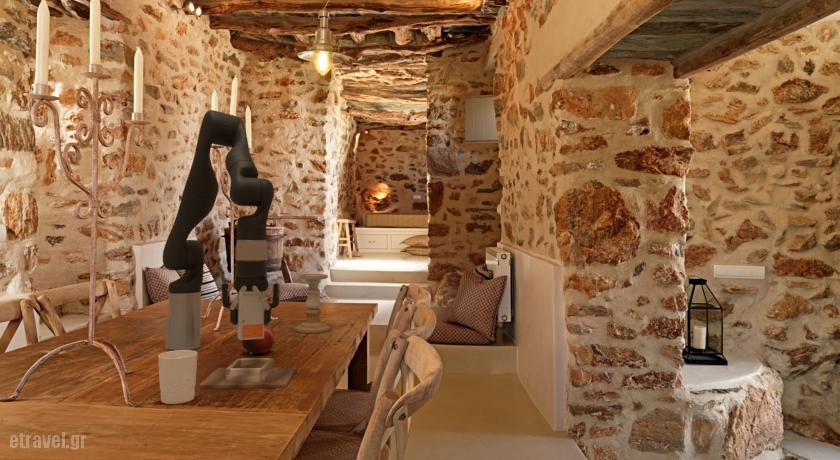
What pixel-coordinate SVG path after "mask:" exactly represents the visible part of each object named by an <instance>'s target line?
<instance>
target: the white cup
mask: <svg viewBox="0 0 840 460" xmlns="http://www.w3.org/2000/svg"><path fill="white" fill-rule="evenodd" d="M157 356H158V358H157V359H158V374H159V375H158V377H159V378H158V379H159V389H160V402H161V403H163V404H167V405H179V404H185V403H188V402H191V401H192V400H194V399H195V391H196V390H195V389H196V385H197V384H196V382H197V381H196V380H197V371H198V368H197V367H198V351H196V350H193V349H191V350H170V351H169V350H168V351H165V352H161V353H160V354H158V355H157Z"/></svg>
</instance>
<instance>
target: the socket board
mask: <svg viewBox="0 0 840 460" xmlns="http://www.w3.org/2000/svg"><path fill="white" fill-rule="evenodd" d="M296 368H297V367H295V366H292V367H290V366H289V367H285V366H283V367H276V366H275V367H274V358H271V357H270V358H266V357H265V358H263V357H262V358H258V357H257V358H254V357H253V358H249V357H248V358H246V357H245V358H237V359H236V360H234V361H233V362H232V363H231V364H230V365H229V366H227V367H217V368H216V369H215V370H214V371H213V372H211V374H210V375H209V376H207V377H206V378H205V379H204V380H203V381H202V382H201V383H200V384H198V389H199V390H200V389H203V390H204V389H207V390H208V389H214V390H215V389H286V388H287V387H288V385H289V383H290V381H291V380H292V377H293V376H294V374H295V372H296V371H297V369H296Z"/></svg>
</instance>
